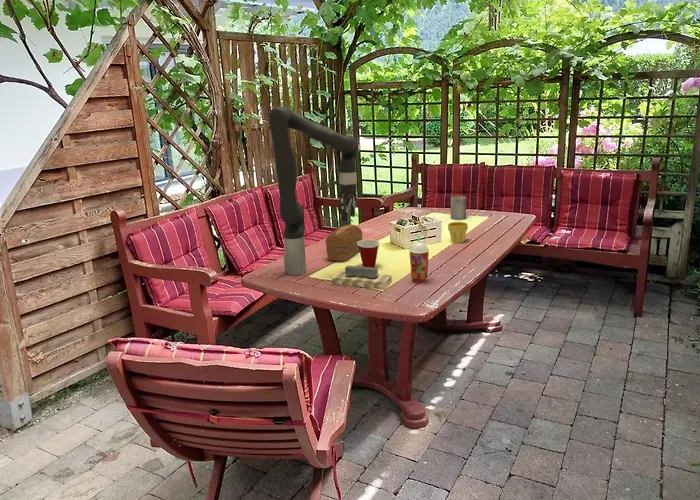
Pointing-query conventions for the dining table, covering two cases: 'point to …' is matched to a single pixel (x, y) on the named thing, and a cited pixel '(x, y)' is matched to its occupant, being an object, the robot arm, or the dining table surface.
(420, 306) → the dining table surface
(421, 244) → the smoothie
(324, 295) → the dining table surface
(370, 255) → the plastic cup
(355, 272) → the grey bridge block
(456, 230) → the plant pot
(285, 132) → the robot arm
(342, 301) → the dining table surface
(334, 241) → the bread
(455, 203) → the pillar candle
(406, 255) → the dining table surface
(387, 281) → the ice cube tray
